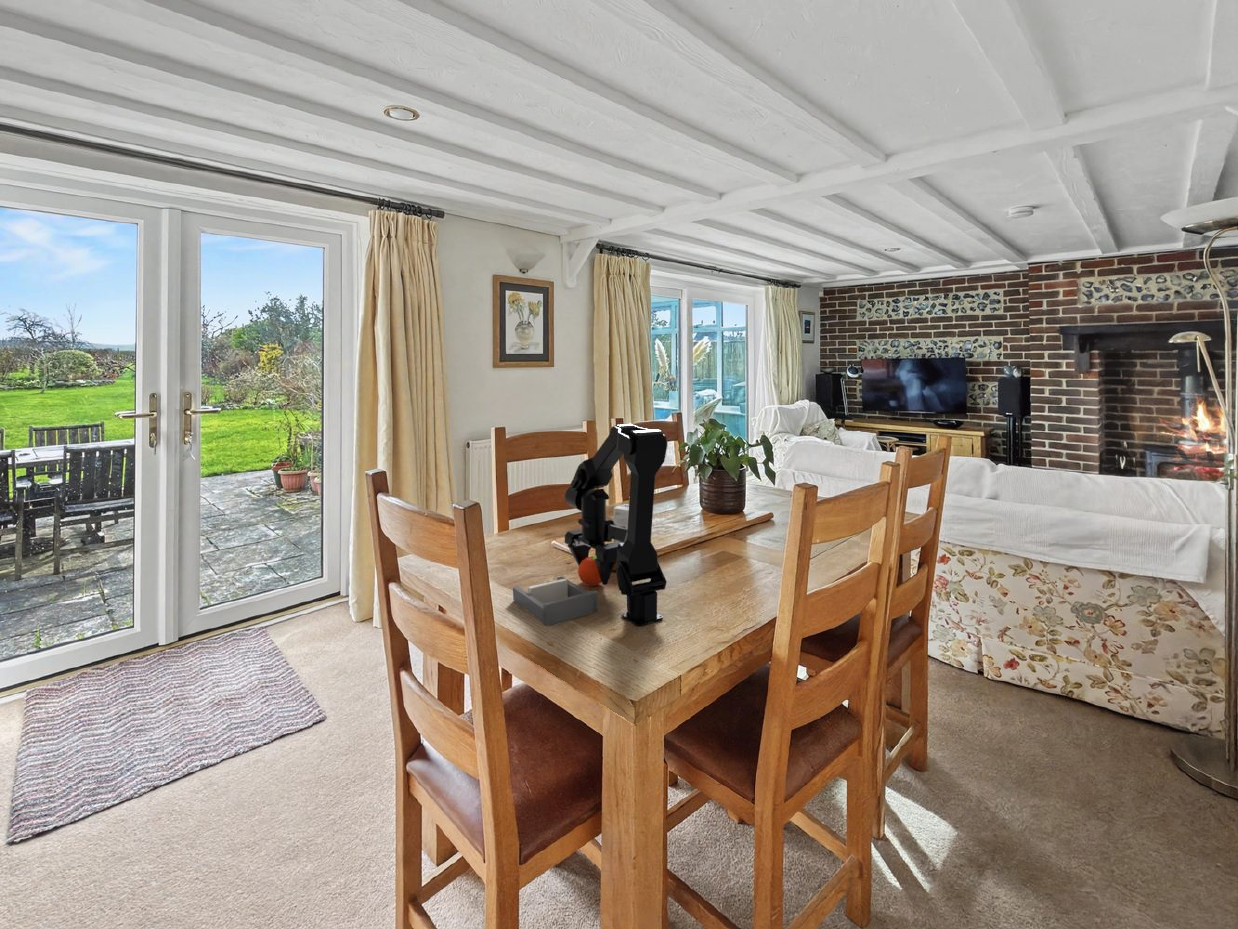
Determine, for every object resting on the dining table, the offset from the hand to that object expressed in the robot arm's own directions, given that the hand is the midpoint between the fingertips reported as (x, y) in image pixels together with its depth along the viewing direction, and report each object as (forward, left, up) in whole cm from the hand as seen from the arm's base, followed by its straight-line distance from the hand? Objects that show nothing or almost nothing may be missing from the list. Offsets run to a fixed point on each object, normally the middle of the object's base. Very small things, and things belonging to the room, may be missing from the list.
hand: (594, 579), depth 149 cm
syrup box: (+12, -18, -2) cm, 22 cm away
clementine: (0, 0, -2) cm, 2 cm away
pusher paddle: (-3, +14, -2) cm, 14 cm away
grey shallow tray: (-6, +14, -2) cm, 15 cm away
